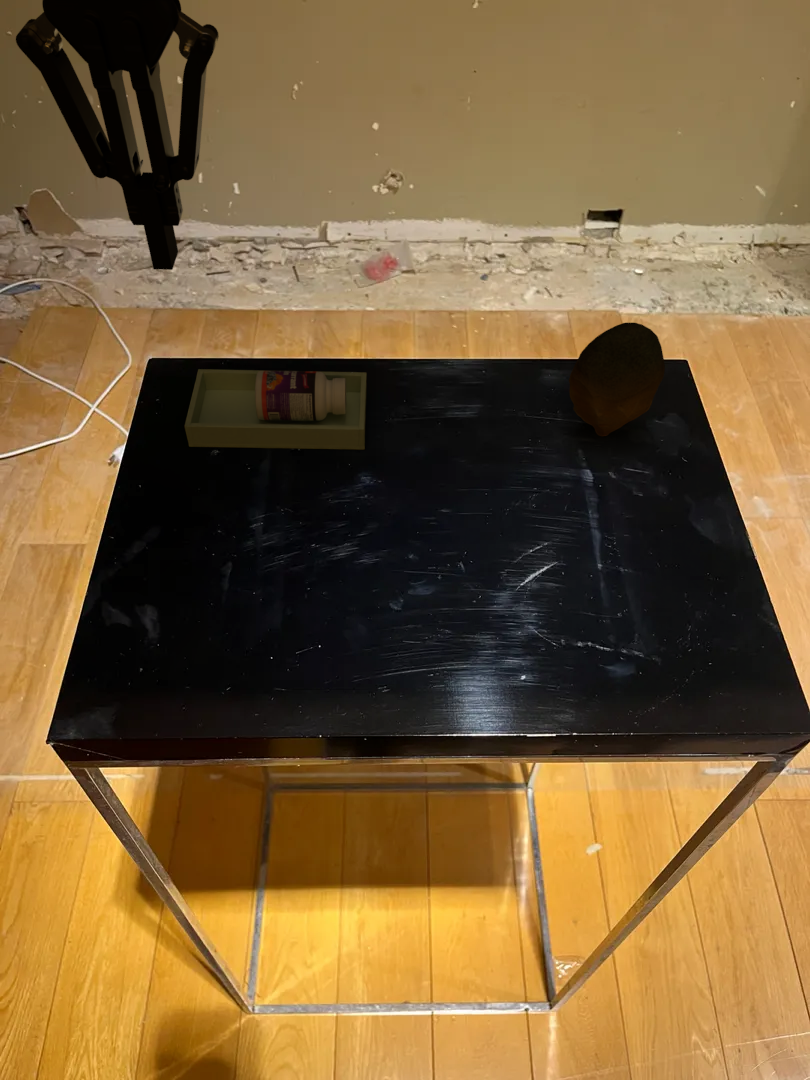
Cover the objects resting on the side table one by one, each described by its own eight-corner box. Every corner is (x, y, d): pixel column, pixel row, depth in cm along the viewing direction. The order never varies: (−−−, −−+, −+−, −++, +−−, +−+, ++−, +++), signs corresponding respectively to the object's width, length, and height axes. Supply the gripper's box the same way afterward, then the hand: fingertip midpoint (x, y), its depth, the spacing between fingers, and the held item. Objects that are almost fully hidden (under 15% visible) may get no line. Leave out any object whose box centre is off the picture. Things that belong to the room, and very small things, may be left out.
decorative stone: (636, 419, 95) (672, 308, 84) (645, 456, 91) (685, 344, 80) (553, 417, 95) (577, 305, 84) (559, 453, 91) (585, 341, 80)
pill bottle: (258, 362, 92) (346, 363, 92) (262, 406, 95) (346, 407, 95) (253, 383, 87) (344, 384, 88) (256, 428, 91) (345, 429, 91)
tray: (189, 446, 90) (184, 426, 88) (202, 389, 97) (198, 368, 94) (364, 449, 91) (364, 429, 88) (366, 392, 97) (366, 372, 95)
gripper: (210, -117, 51) (252, 237, 69) (-4, -125, 50) (95, 233, 68) (190, -83, 46) (241, 288, 64) (-47, -91, 46) (72, 284, 64)
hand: (166, 260), depth 66 cm, fingers closed
